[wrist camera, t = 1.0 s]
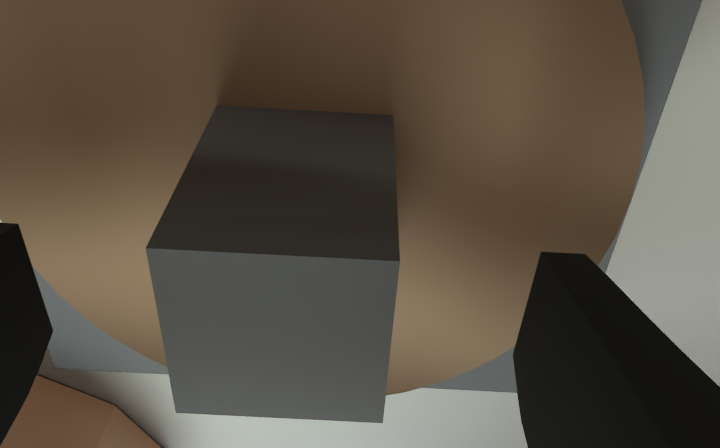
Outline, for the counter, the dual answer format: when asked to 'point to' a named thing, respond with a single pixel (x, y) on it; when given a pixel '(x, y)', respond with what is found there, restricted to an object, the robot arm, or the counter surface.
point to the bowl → (71, 421)
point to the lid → (313, 181)
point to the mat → (658, 66)
